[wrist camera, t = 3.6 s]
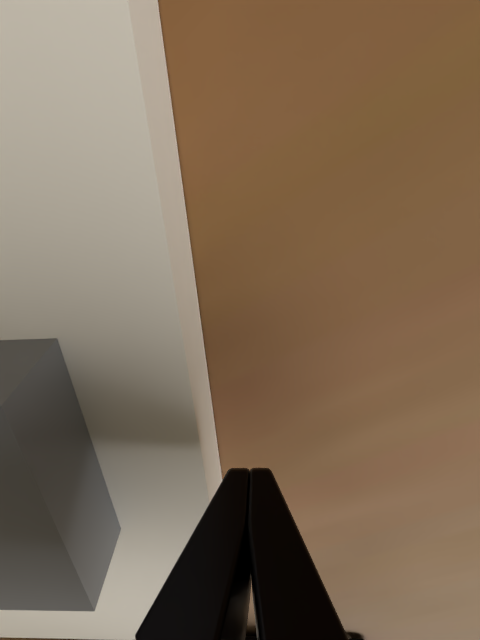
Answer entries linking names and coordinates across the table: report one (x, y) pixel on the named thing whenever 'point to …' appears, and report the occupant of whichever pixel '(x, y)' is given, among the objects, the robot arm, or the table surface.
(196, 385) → the cream block
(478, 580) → the table surface
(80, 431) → the slate tile
